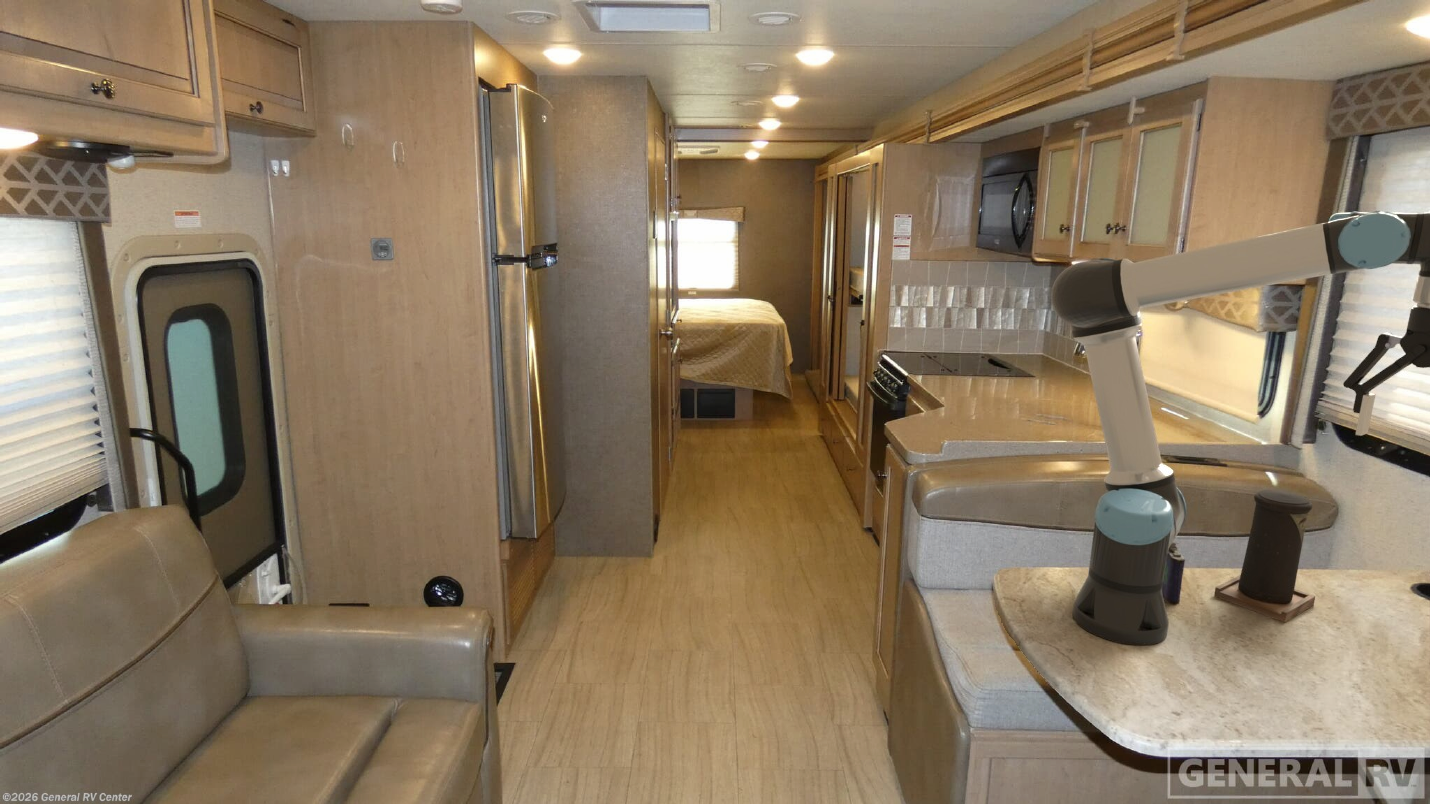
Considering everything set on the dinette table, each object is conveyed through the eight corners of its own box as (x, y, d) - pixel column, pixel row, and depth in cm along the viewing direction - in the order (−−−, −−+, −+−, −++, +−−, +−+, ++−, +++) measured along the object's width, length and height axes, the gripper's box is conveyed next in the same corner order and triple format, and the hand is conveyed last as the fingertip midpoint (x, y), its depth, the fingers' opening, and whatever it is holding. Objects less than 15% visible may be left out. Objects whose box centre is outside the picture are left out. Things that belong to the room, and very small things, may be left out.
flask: (1146, 582, 159) (1153, 531, 157) (1161, 583, 159) (1169, 532, 156) (1167, 604, 150) (1176, 551, 148) (1184, 605, 150) (1192, 552, 148)
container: (1301, 607, 147) (1323, 504, 142) (1247, 601, 149) (1267, 499, 144) (1280, 587, 155) (1300, 488, 150) (1228, 581, 157) (1246, 484, 152)
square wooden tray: (1284, 622, 144) (1286, 613, 144) (1214, 595, 154) (1215, 587, 153) (1313, 605, 150) (1315, 596, 150) (1244, 580, 160) (1245, 572, 160)
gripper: (1570, 314, 111) (1532, 461, 116) (1354, 297, 131) (1329, 423, 136) (1556, 317, 107) (1517, 469, 112) (1335, 299, 127) (1310, 429, 132)
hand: (1414, 444), depth 124 cm, fingers open, 13 cm apart
